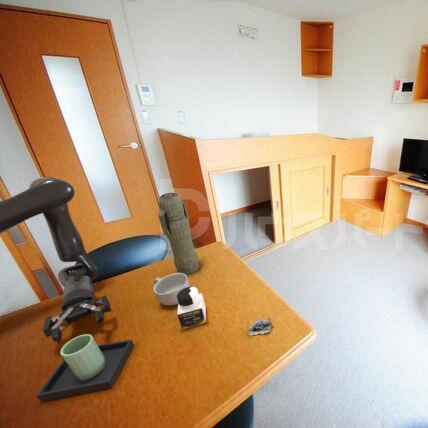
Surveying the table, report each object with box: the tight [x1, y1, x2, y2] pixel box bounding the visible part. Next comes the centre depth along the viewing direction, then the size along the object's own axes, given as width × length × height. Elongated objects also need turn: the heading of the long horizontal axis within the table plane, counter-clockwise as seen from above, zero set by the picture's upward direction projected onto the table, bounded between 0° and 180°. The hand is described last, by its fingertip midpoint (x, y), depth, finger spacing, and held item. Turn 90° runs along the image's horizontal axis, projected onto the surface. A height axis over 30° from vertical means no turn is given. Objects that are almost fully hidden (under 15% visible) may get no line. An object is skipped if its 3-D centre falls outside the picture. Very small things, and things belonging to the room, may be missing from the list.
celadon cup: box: [59, 333, 106, 380], centre depth 63 cm, size 6×6×10 cm
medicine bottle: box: [176, 286, 207, 330], centre depth 79 cm, size 7×7×12 cm
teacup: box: [153, 272, 191, 306], centre depth 88 cm, size 14×11×8 cm
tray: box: [35, 339, 135, 402], centre depth 65 cm, size 15×12×3 cm
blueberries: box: [247, 318, 274, 336], centre depth 78 cm, size 7×8×2 cm
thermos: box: [157, 192, 200, 276], centre depth 98 cm, size 9×12×35 cm
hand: (79, 330), depth 67 cm, fingers open, 8 cm apart
